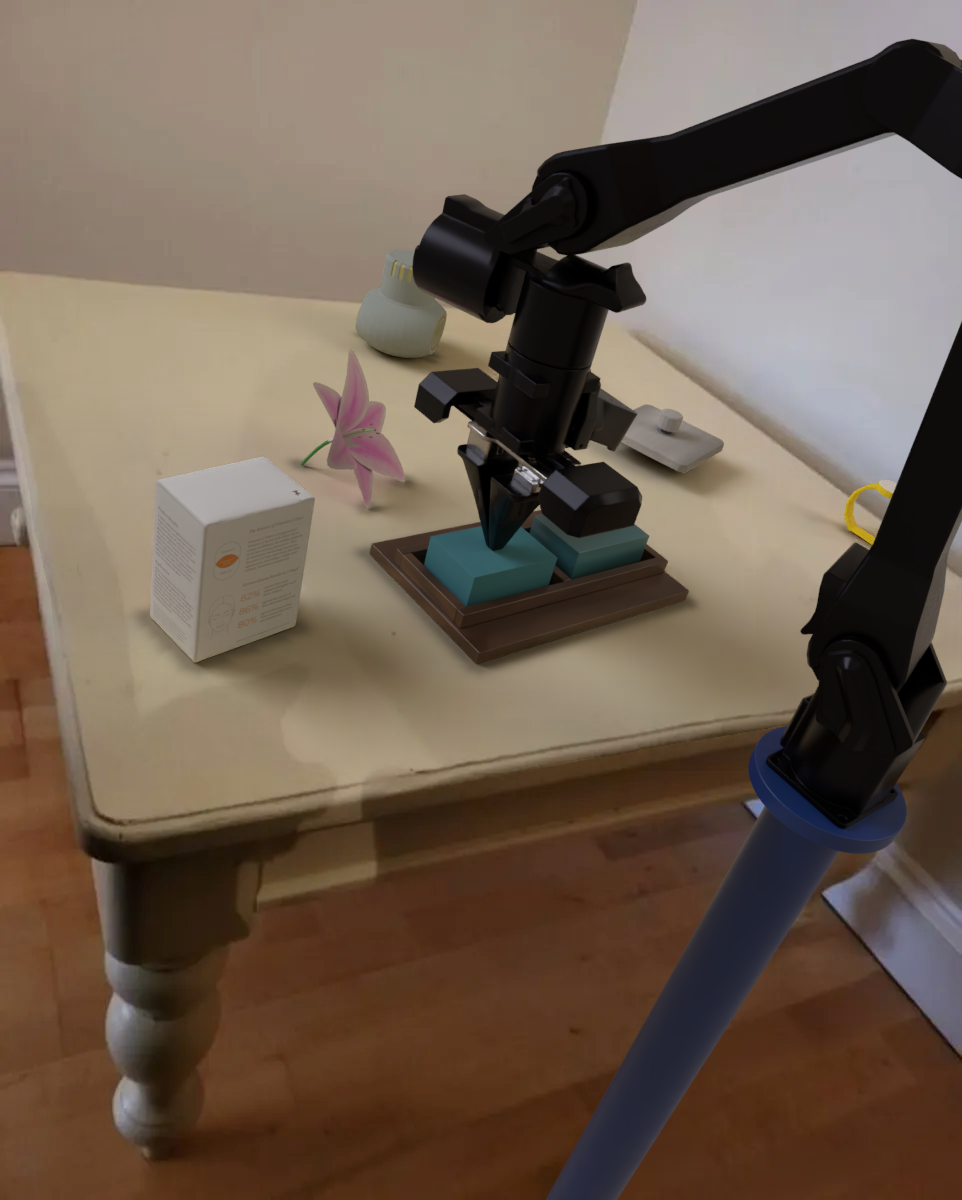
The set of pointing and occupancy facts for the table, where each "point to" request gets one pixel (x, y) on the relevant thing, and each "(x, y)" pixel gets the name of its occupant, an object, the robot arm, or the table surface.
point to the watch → (882, 487)
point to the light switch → (670, 439)
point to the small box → (228, 555)
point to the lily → (358, 431)
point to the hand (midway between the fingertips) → (494, 547)
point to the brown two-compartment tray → (566, 606)
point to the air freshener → (400, 312)
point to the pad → (488, 565)
